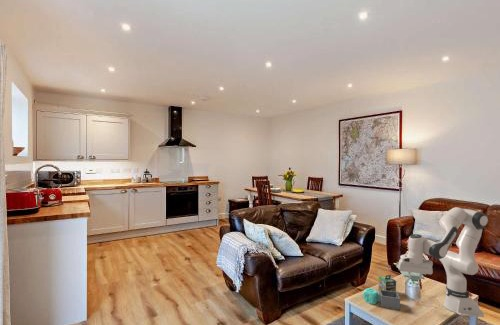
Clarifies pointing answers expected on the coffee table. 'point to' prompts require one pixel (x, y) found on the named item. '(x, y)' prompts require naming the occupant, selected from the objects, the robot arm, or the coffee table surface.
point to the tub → (389, 299)
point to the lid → (414, 275)
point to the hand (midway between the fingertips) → (414, 278)
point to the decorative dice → (370, 296)
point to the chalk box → (387, 283)
